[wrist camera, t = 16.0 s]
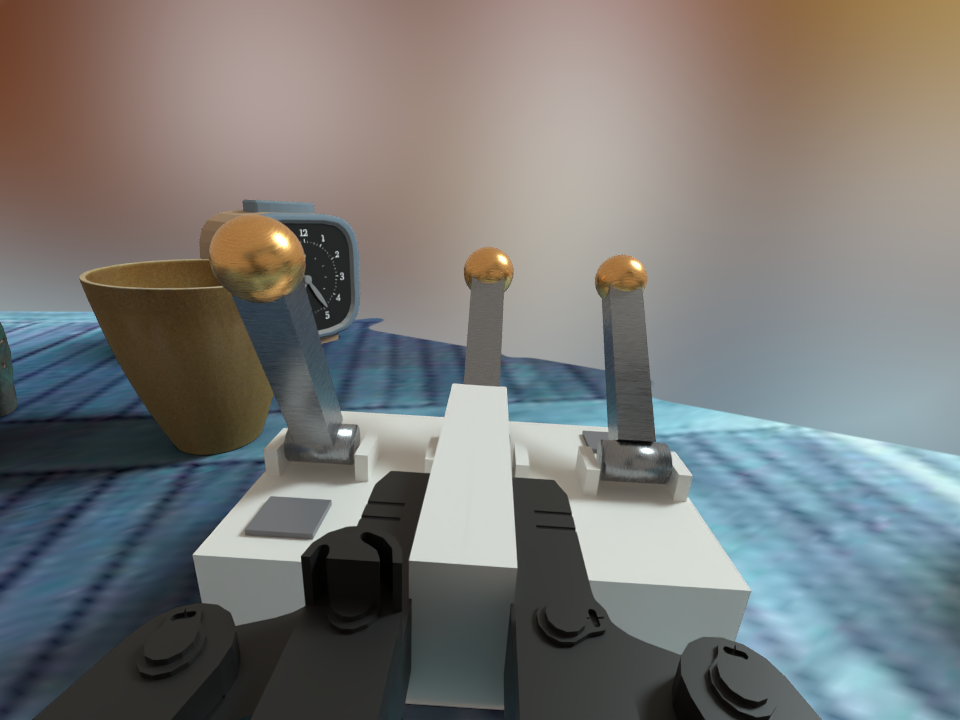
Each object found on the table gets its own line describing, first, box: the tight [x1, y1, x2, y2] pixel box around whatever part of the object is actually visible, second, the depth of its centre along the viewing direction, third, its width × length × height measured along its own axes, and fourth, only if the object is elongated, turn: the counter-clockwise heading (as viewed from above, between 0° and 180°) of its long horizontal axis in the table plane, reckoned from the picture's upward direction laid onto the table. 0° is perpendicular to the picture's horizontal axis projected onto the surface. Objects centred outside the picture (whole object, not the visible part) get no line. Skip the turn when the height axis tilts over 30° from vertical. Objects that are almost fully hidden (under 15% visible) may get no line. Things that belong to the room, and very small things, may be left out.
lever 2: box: [595, 255, 672, 484], centre depth 26 cm, size 3×3×14 cm
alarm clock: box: [200, 200, 360, 344], centre depth 69 cm, size 21×10×22 cm, turn 147°
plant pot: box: [79, 259, 274, 455], centre depth 40 cm, size 15×15×16 cm
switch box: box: [193, 411, 751, 710], centre depth 26 cm, size 24×14×10 cm, turn 88°
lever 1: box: [209, 215, 360, 465], centre depth 20 cm, size 3×3×14 cm
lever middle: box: [464, 247, 513, 437], centre depth 27 cm, size 3×3×14 cm
